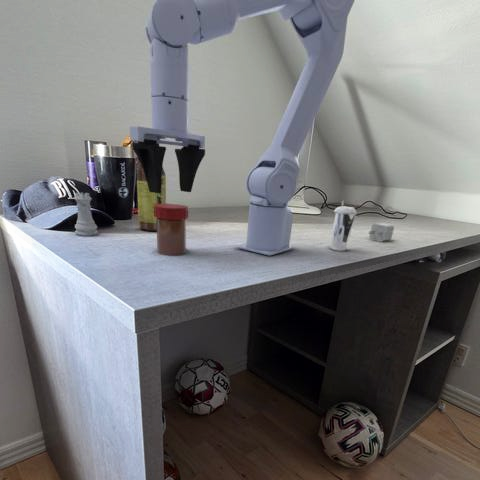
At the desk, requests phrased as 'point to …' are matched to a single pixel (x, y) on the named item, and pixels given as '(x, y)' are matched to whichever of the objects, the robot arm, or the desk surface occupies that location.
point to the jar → (171, 236)
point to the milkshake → (342, 226)
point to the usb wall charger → (381, 231)
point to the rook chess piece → (84, 216)
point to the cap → (170, 211)
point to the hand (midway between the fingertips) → (171, 192)
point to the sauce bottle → (148, 200)
